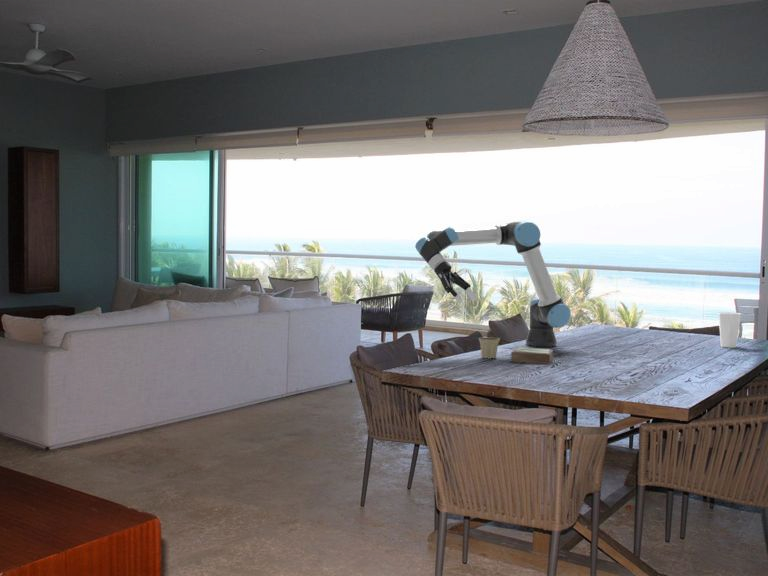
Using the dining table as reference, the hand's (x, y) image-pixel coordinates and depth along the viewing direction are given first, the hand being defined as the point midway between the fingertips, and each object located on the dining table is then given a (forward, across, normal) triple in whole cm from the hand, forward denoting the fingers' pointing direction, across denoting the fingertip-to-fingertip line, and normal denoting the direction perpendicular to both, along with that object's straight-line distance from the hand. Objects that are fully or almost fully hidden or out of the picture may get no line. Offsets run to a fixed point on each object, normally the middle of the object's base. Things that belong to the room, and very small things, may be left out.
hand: (468, 300), depth 353 cm
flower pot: (+25, 0, -10) cm, 27 cm away
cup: (+79, -114, +45) cm, 146 cm away
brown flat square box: (+38, -6, +3) cm, 38 cm away
